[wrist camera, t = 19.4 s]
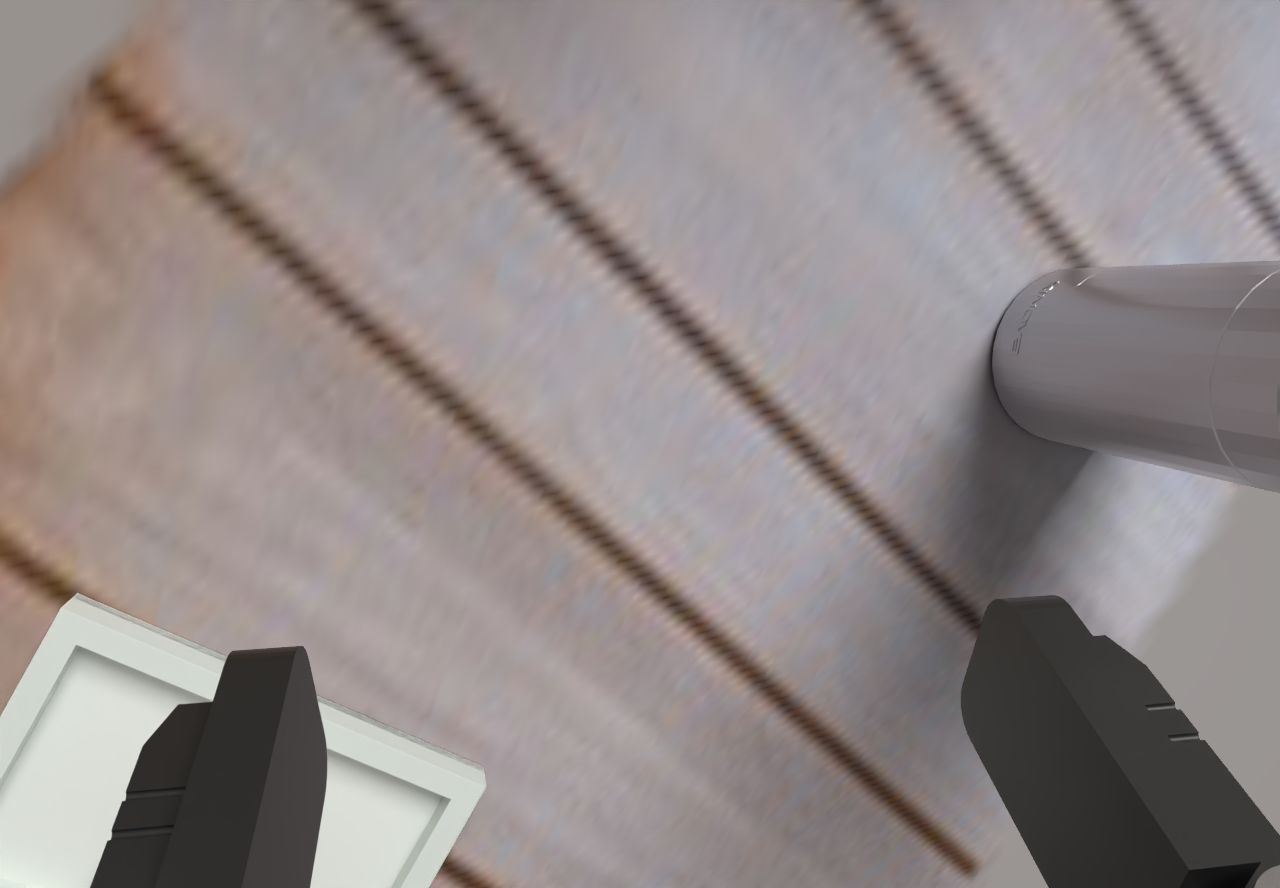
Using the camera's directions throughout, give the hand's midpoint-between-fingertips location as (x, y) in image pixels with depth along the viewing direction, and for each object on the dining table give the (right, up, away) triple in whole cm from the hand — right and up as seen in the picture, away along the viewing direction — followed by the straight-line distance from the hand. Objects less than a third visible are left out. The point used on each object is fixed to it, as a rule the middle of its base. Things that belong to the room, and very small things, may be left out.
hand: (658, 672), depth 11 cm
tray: (-20, -15, +33) cm, 41 cm away
